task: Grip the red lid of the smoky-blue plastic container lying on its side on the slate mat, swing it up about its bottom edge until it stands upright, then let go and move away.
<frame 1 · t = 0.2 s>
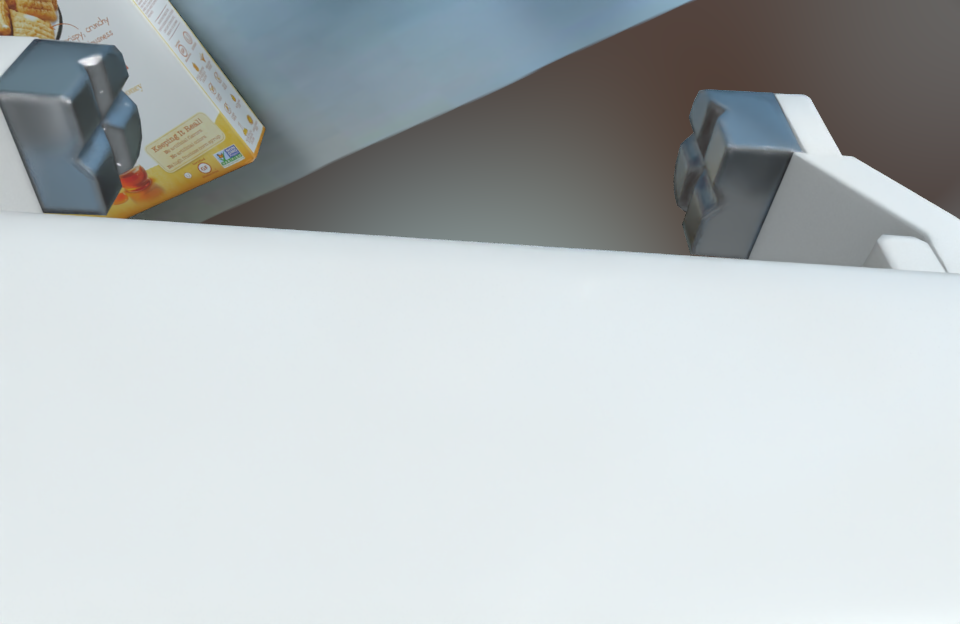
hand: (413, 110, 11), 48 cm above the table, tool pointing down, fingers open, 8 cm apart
cereal box: (57, 31, 61), on the table
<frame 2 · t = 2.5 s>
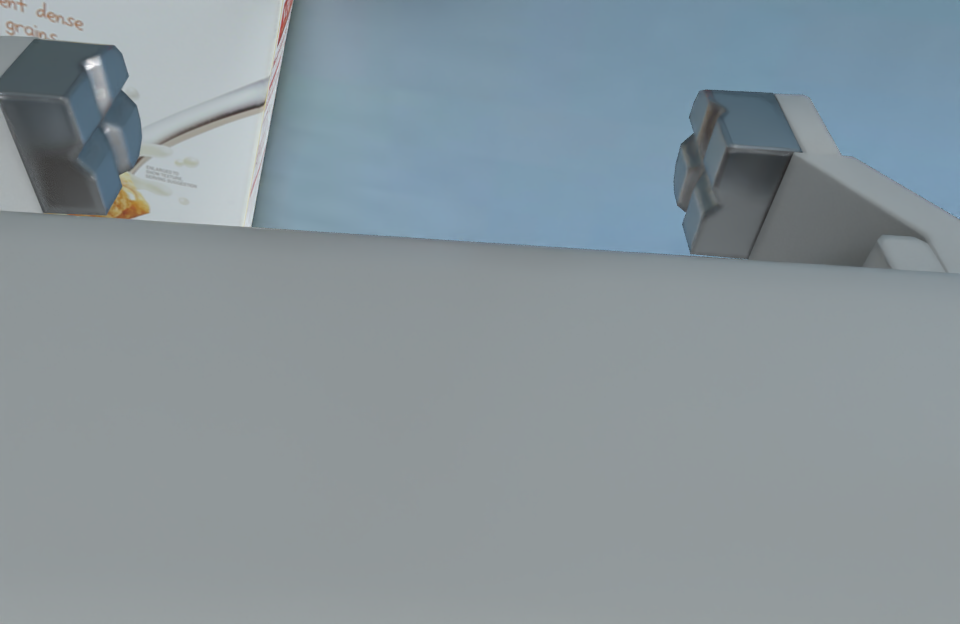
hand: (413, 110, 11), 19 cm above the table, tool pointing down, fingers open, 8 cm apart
cereal box: (32, 151, 35), on the table
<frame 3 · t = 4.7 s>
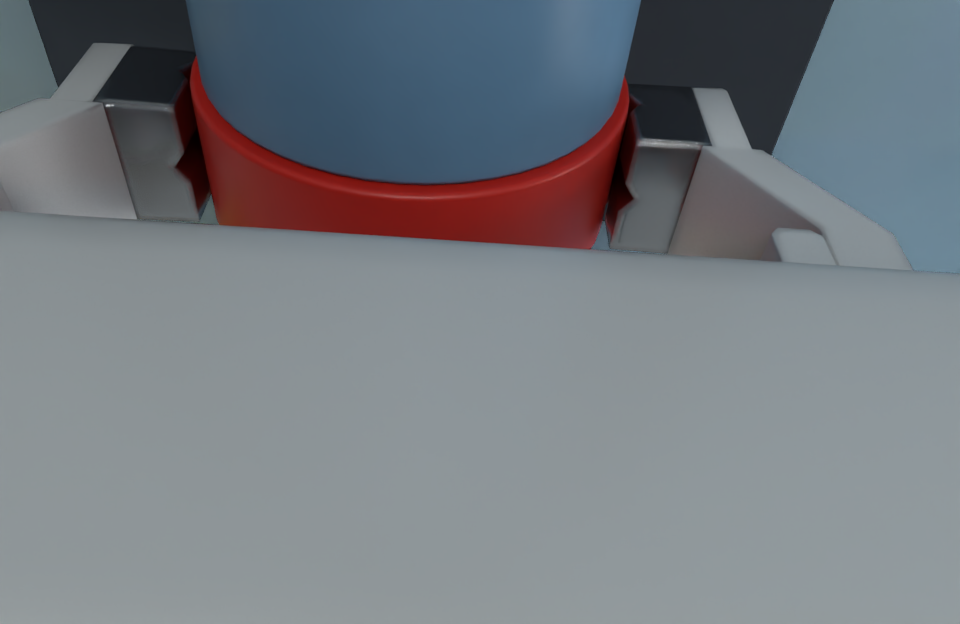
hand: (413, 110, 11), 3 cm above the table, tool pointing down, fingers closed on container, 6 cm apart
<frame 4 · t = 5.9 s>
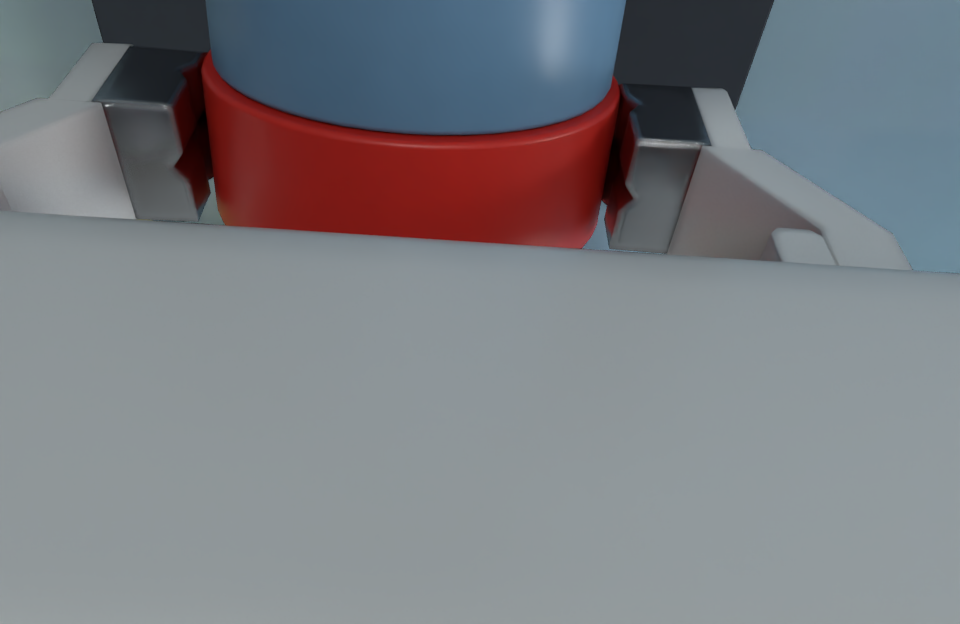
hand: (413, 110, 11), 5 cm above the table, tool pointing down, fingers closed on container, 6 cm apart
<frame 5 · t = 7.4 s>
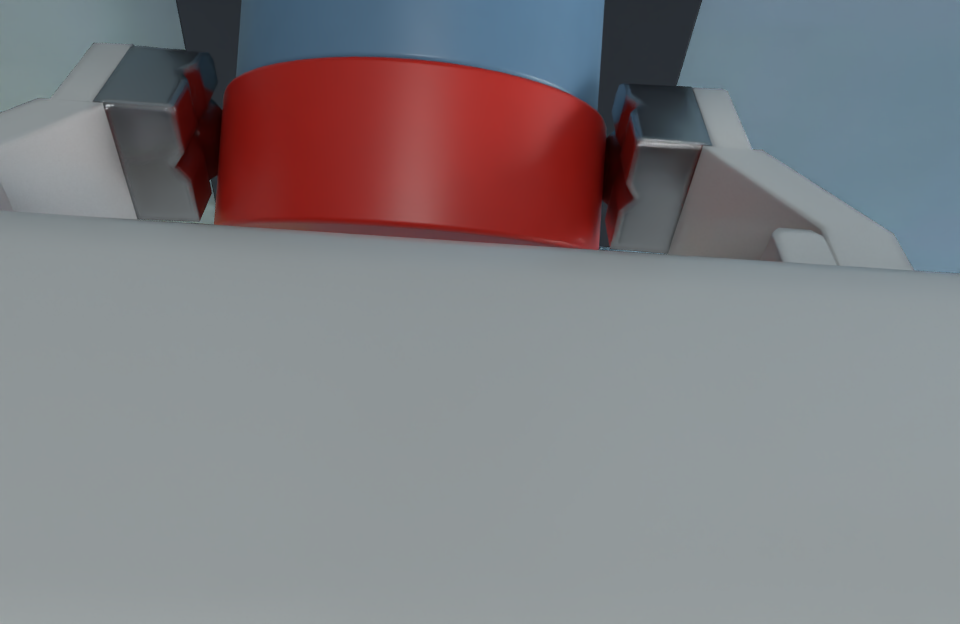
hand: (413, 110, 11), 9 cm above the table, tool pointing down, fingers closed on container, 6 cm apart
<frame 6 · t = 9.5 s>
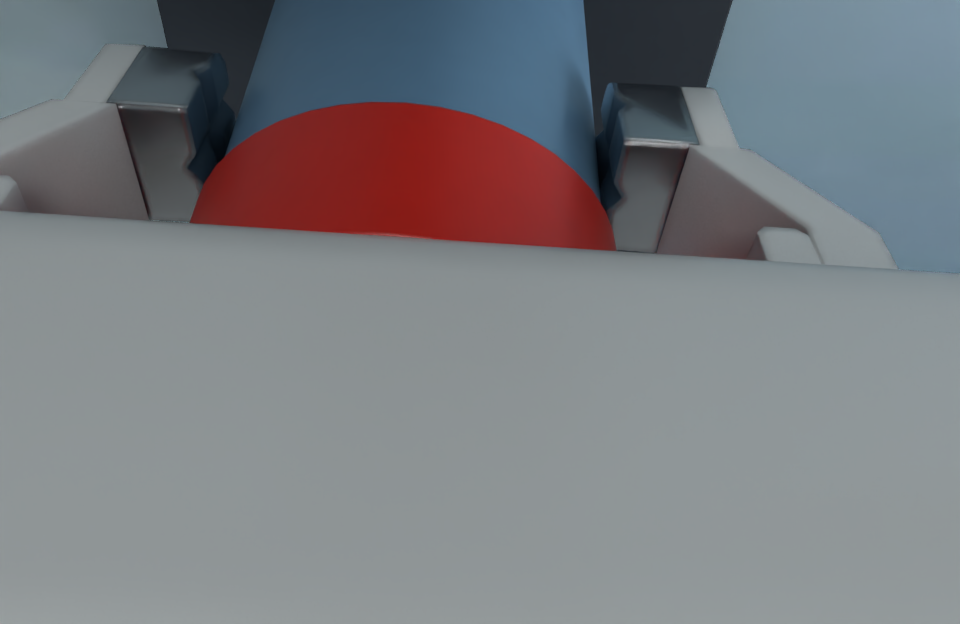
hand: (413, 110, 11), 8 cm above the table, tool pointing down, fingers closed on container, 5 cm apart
mat: (438, 133, 21), on the table
container: (425, 101, 13), point 6 cm above the table, hinge at 8.3°, touching gripper
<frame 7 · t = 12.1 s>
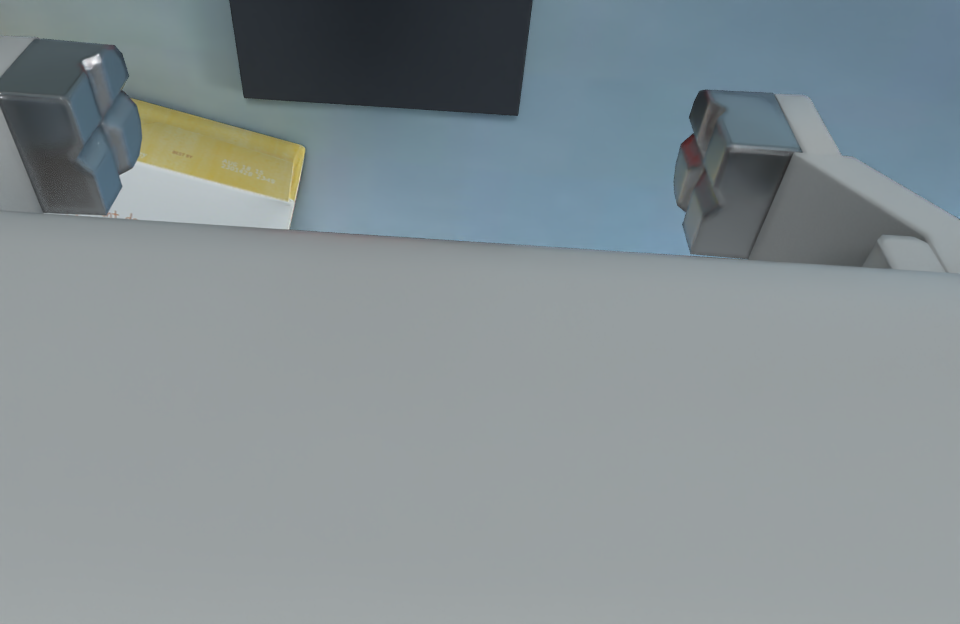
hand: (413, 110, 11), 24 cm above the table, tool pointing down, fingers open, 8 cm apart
cereal box: (96, 283, 46), on the table
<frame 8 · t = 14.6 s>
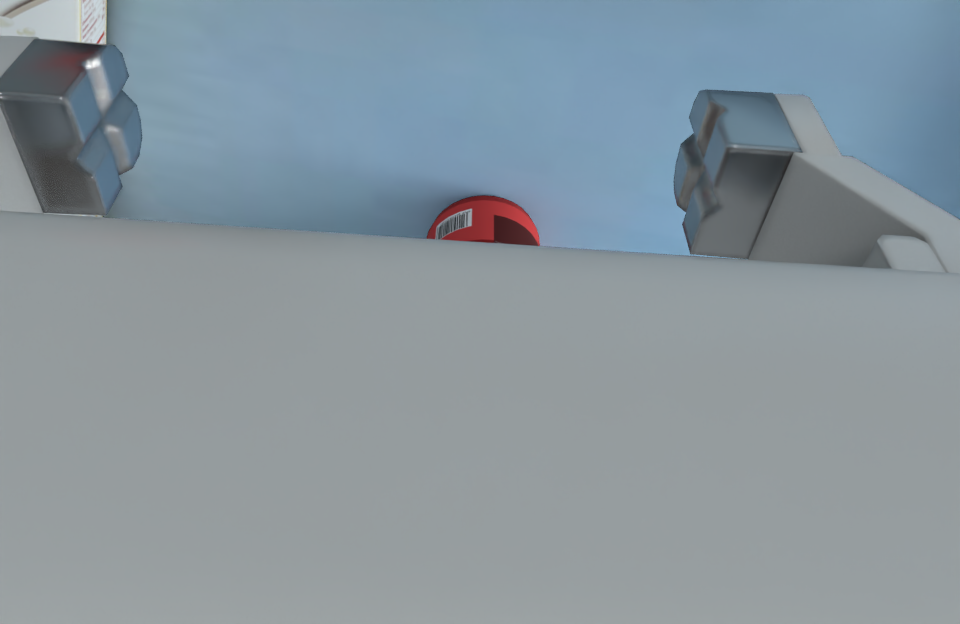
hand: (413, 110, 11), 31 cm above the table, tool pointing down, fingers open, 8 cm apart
canned food: (482, 236, 54), on the table
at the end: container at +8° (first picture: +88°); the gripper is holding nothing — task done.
